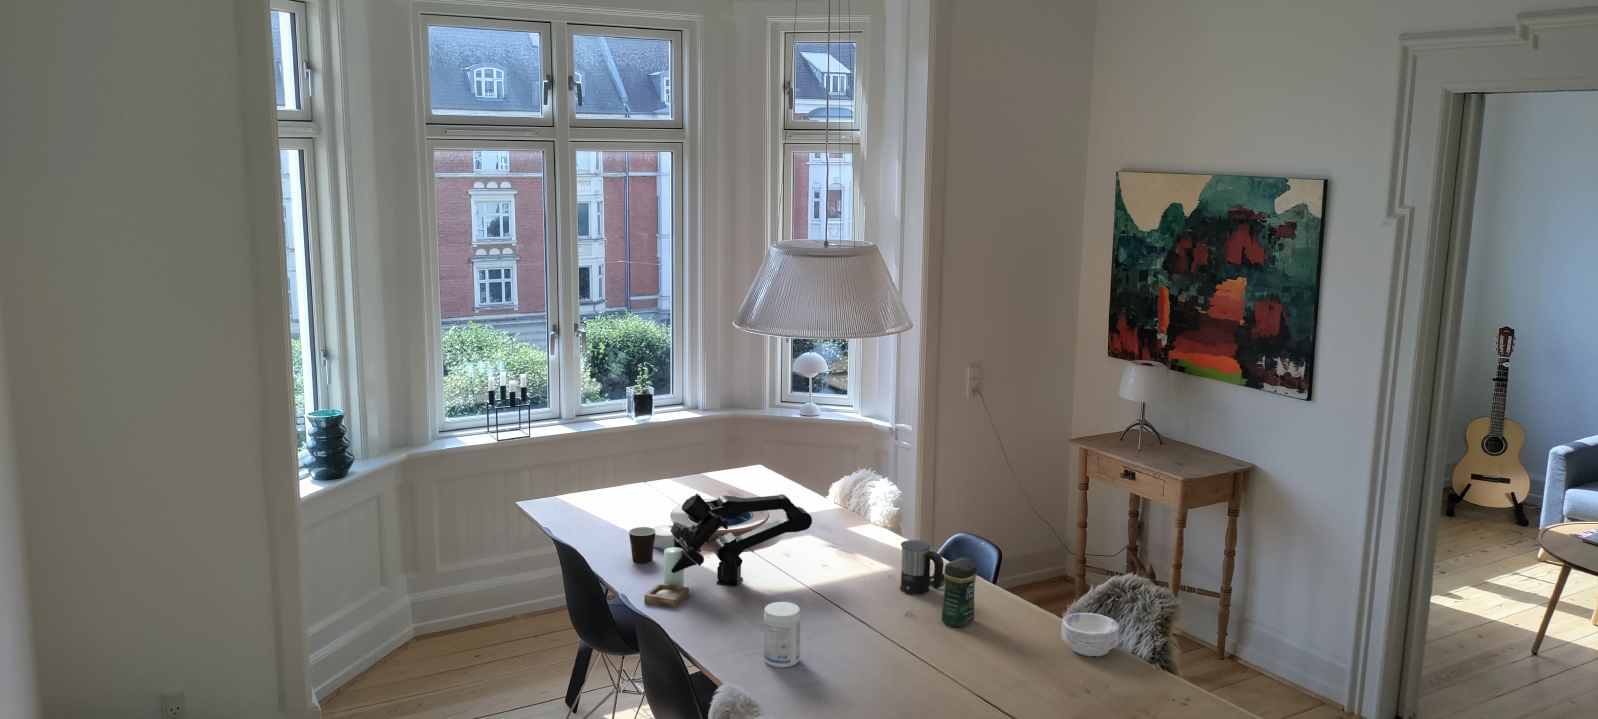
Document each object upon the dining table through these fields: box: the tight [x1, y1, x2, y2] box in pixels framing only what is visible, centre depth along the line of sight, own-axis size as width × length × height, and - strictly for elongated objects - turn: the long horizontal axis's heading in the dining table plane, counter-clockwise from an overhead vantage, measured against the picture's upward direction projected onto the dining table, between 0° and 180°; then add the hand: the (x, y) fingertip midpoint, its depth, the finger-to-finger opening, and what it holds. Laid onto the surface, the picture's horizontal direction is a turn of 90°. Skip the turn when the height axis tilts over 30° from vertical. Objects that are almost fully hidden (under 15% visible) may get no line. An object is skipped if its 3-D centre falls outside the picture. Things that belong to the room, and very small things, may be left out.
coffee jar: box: [941, 556, 978, 628], centre depth 311 cm, size 10×8×19 cm
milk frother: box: [899, 539, 945, 596], centre depth 337 cm, size 14×16×15 cm
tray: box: [643, 582, 690, 609], centre depth 324 cm, size 10×10×3 cm
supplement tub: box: [763, 601, 801, 669], centre depth 284 cm, size 10×10×15 cm
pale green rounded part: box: [663, 547, 685, 587], centre depth 333 cm, size 6×6×12 cm
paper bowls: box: [1060, 612, 1120, 657], centre depth 295 cm, size 15×15×8 cm
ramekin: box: [652, 524, 677, 550], centre depth 371 cm, size 11×11×5 cm
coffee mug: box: [628, 526, 656, 565], centre depth 357 cm, size 12×9×10 cm
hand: (669, 567), depth 332 cm, fingers open, 7 cm apart
